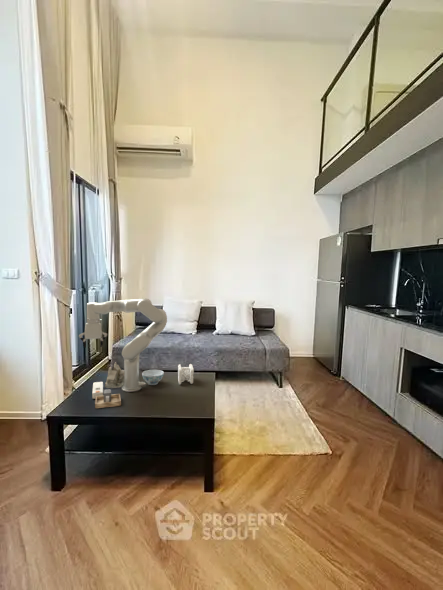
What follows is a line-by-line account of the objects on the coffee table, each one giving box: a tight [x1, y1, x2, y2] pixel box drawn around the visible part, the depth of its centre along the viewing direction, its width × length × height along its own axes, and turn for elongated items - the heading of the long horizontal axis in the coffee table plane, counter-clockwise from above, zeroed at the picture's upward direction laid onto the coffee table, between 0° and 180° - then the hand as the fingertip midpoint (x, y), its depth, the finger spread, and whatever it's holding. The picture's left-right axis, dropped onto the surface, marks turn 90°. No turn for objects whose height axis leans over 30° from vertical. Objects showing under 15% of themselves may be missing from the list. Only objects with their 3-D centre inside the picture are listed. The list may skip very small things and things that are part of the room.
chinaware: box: [141, 369, 165, 386], centre depth 222 cm, size 15×15×8 cm
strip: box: [91, 381, 104, 400], centre depth 203 cm, size 6×20×4 cm, turn 20°
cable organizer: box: [177, 363, 195, 385], centre depth 227 cm, size 15×11×12 cm
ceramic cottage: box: [104, 361, 124, 389], centre depth 218 cm, size 16×16×15 cm
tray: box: [94, 393, 122, 409], centre depth 187 cm, size 14×12×3 cm
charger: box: [103, 388, 112, 403], centre depth 187 cm, size 4×6×8 cm
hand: (93, 347), depth 207 cm, fingers open, 9 cm apart
